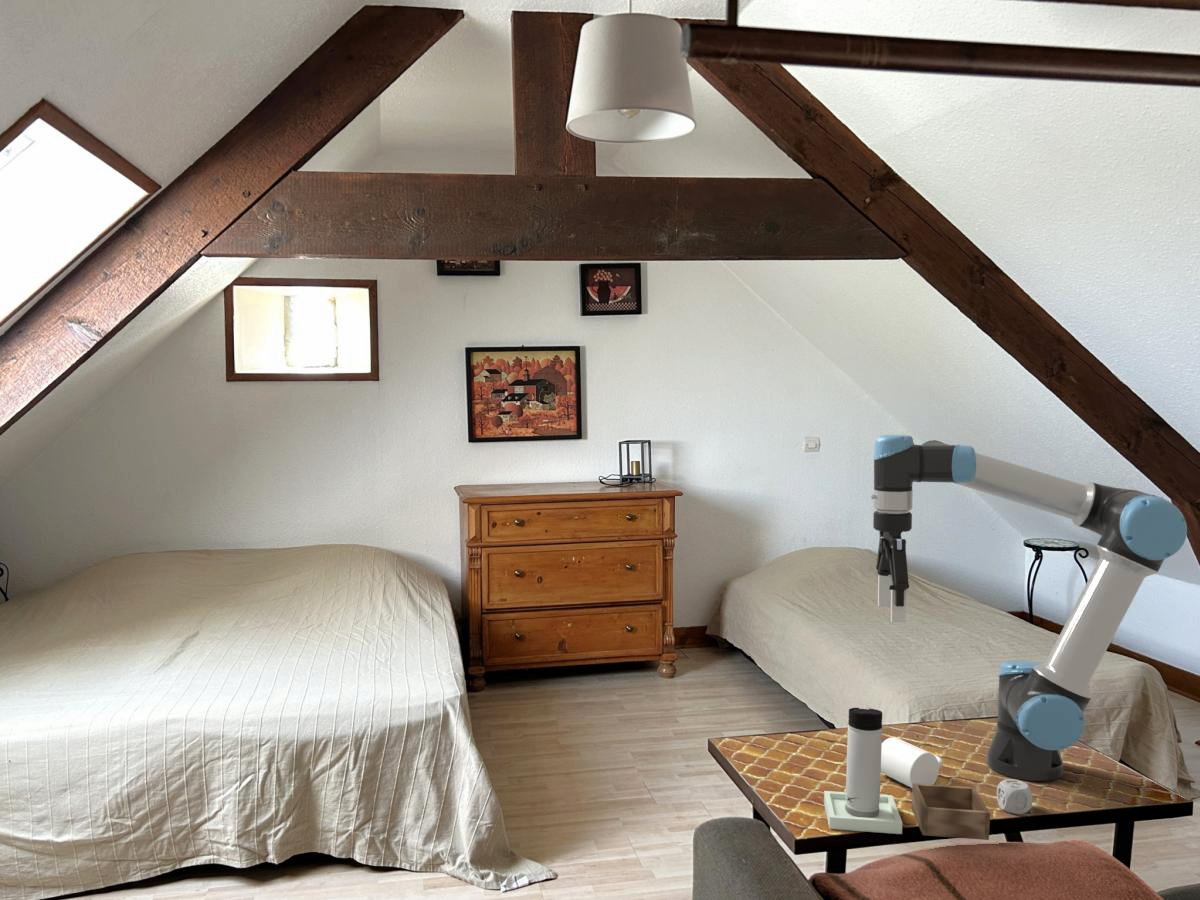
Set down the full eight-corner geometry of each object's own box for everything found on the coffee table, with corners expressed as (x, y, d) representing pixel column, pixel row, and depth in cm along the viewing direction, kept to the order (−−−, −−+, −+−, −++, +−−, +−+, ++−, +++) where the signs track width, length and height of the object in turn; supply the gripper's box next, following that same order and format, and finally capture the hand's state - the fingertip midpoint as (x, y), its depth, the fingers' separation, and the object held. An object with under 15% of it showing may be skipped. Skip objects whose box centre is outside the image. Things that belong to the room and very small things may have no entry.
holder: (973, 812, 192) (974, 787, 192) (988, 839, 181) (990, 813, 180) (911, 808, 194) (912, 783, 193) (922, 835, 182) (923, 808, 182)
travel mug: (846, 817, 187) (850, 712, 185) (843, 802, 193) (847, 701, 192) (881, 820, 185) (884, 715, 184) (877, 805, 192) (881, 703, 191)
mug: (909, 795, 200) (911, 756, 200) (874, 777, 209) (876, 740, 209) (953, 784, 206) (954, 746, 205) (917, 767, 215) (918, 731, 214)
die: (1021, 803, 197) (1022, 779, 196) (1032, 814, 192) (1033, 789, 192) (995, 803, 197) (996, 778, 197) (1005, 814, 192) (1007, 789, 192)
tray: (891, 806, 195) (892, 795, 194) (901, 834, 183) (902, 822, 183) (823, 801, 196) (824, 790, 196) (829, 828, 184) (829, 817, 184)
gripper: (863, 503, 216) (862, 600, 217) (885, 519, 191) (884, 628, 193) (898, 503, 215) (897, 600, 217) (926, 519, 190) (924, 629, 192)
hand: (891, 614), depth 205 cm, fingers open, 13 cm apart
